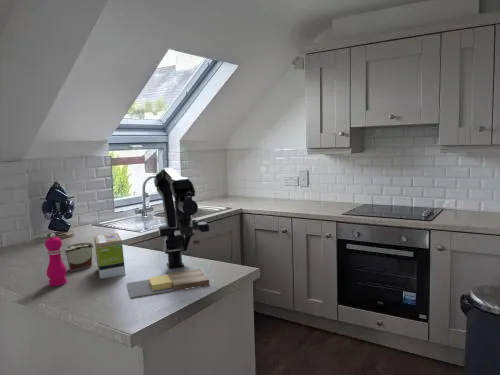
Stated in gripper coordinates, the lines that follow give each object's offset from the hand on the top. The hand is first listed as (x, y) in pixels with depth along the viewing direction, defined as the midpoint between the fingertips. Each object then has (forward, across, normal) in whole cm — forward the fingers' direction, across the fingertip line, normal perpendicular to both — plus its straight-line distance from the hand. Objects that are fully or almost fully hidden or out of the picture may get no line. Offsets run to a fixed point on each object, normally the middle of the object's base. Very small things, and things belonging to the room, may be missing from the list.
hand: (185, 250), depth 168 cm
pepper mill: (+11, -48, +15) cm, 52 cm away
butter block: (+9, -11, -6) cm, 15 cm away
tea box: (+11, -28, +21) cm, 37 cm away
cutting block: (+10, -1, -6) cm, 12 cm away
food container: (+11, -42, +34) cm, 55 cm away
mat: (+10, -15, -6) cm, 19 cm away
